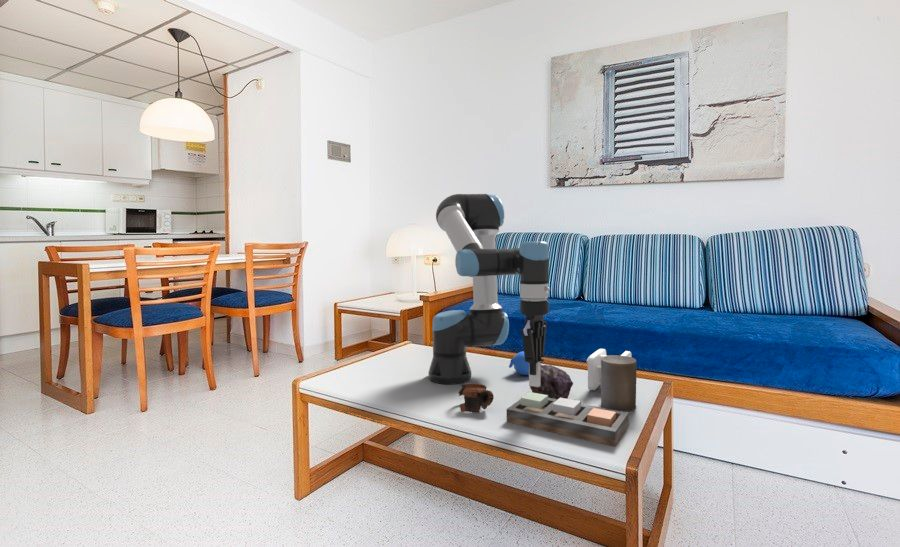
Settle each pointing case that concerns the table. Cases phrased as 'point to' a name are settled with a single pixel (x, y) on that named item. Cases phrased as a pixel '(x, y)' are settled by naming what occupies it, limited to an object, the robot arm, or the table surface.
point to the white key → (566, 406)
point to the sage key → (534, 400)
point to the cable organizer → (597, 367)
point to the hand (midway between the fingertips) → (534, 385)
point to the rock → (553, 382)
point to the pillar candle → (618, 382)
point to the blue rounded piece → (520, 364)
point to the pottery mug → (475, 397)
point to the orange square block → (601, 417)
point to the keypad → (569, 422)
